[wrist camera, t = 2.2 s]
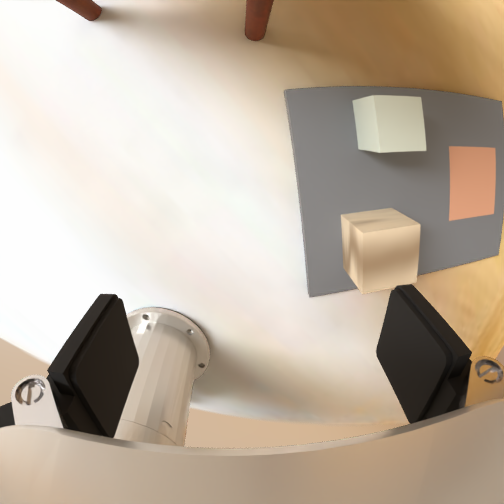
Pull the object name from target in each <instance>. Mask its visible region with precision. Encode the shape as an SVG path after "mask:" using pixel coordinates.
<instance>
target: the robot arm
mask: <svg viewBox="0 0 504 504" xmlns="http://www.w3.org/2000/svg"><path fill="white" fill-rule="evenodd" d="M376 353H377V358H378V360H379V362H380V364H381V365H382V367H383V369H384V371H385V373H386V375H387V377H388V379H389V381H390V383H391V385H392V387H393V390H394V392H395V394H396V396H397V398H398V400H399V402H400V404H401V406H402V408H403V410H404V412H405V415H406V417H407V419H408V421H409V423H410V424H408V425H405V426H401V427H397V428H393V429H389V430H385V431H381V432H376V433H372V434H367V435H362V436H357V437H352V438H346V439H339V440H333V441H327V442H319V443H311V444H302V445H292V446H279V447H263V448H198V447H197V448H196V447H184V444H185V437H186V429H187V422H188V415H189V408H190V401H191V394H192V388H193V381H194V380H196V379H198V378H199V377H200V376H201V375H202V374H203V373H204V372H205V370H206V369H207V366H208V363H209V358H210V347H209V344H208V341H207V339H206V337H205V335H204V334H203V332H202V331H201V330H200V329H199V327H198V326H197V325H195V324H194V323H193V322H192V321H191V320H189V319H188V318H186V317H184V316H183V315H181V314H179V313H176V312H174V311H171V310H167V309H163V308H155V307H150V308H141V309H138V310H135V311H133V312H131V313H129V314H127V315H126V312H125V308H124V304H123V301H122V299H120V298H118V297H117V295H116V294H100V295H99V296H98V298H97V299H96V300H95V302H94V303H93V304H92V306H91V307H90V308H89V310H88V311H87V312H86V314H85V315H84V317H83V318H82V319H81V321H80V322H79V324H78V325H77V327H76V328H75V329H74V331H73V332H72V334H71V335H70V337H69V338H68V340H67V341H66V342H65V344H64V345H63V347H62V348H61V350H60V351H59V353H58V354H57V356H56V358H55V359H54V361H53V362H52V364H51V365H50V367H49V368H48V370H47V371H48V373H49V375H48V377H47V378H45V377H43V376H40V375H30V376H27V377H25V378H23V379H21V380H20V381H19V382H18V383H17V384H16V385H15V386H14V388H13V390H12V393H11V400H12V402H10V403H8V404H5V405H3V406H0V504H504V366H503V365H502V364H501V363H500V362H498V361H497V360H496V359H494V358H491V357H487V356H481V357H477V358H475V359H474V360H473V361H471V360H470V359H469V358H470V356H471V354H472V352H471V351H470V350H469V348H468V347H467V346H466V345H465V343H464V342H463V341H462V340H461V339H460V337H459V336H458V335H457V334H456V333H455V331H454V330H453V329H452V328H451V327H450V326H449V324H448V323H447V322H446V321H445V320H444V319H443V318H442V316H441V315H440V314H439V313H438V312H437V311H436V310H435V309H434V307H433V306H432V305H431V304H430V303H429V302H428V301H427V300H426V299H425V298H424V297H423V295H422V294H421V293H420V292H419V291H418V290H417V289H416V288H415V287H414V286H413V285H412V284H407V285H397V286H396V287H395V289H394V290H392V291H391V294H390V298H389V302H388V306H387V311H386V315H385V319H384V323H383V327H382V330H381V334H380V338H379V342H378V345H377V349H376Z"/></svg>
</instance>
